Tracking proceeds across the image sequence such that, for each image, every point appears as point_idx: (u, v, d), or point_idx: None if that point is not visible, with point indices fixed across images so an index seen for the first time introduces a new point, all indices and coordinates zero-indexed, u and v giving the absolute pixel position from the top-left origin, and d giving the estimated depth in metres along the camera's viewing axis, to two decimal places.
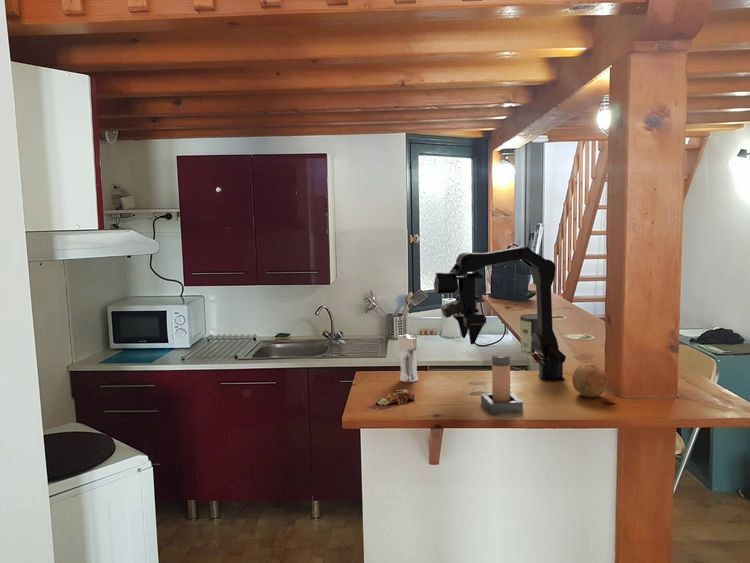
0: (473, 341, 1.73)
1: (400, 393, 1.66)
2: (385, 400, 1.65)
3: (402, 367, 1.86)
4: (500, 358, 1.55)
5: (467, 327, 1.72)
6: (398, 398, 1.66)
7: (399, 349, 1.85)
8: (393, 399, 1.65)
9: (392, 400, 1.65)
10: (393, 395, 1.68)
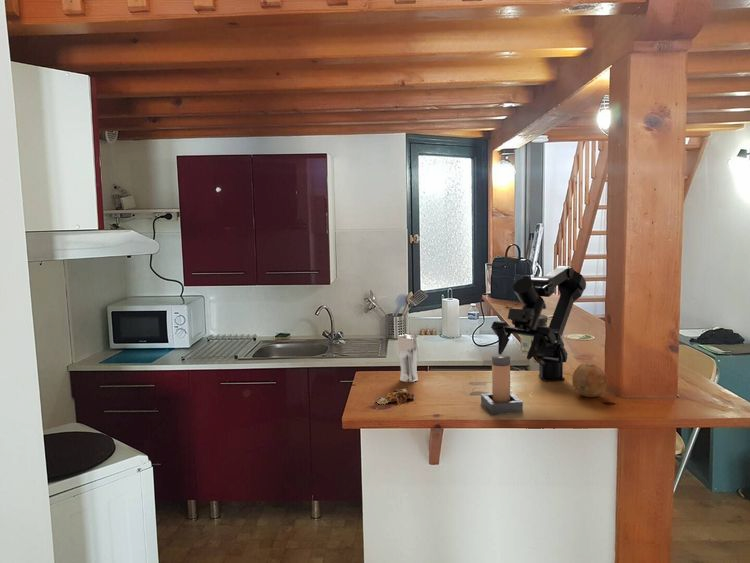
0: (530, 356, 1.60)
1: (399, 393, 1.67)
2: (384, 399, 1.66)
3: (402, 367, 1.86)
4: (500, 358, 1.55)
5: (534, 339, 1.61)
6: (397, 398, 1.66)
7: (399, 349, 1.85)
8: (392, 398, 1.66)
9: (391, 399, 1.66)
10: (392, 394, 1.69)
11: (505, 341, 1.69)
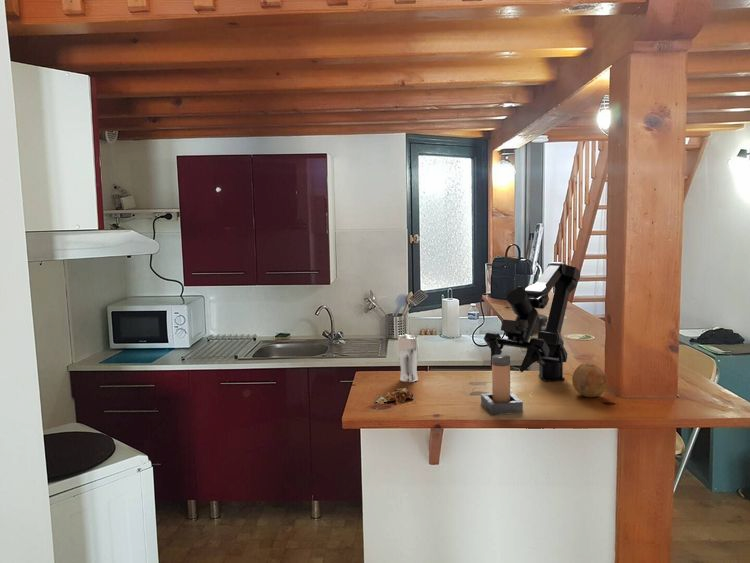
0: (524, 368, 1.57)
1: (398, 392, 1.67)
2: (383, 398, 1.67)
3: (402, 367, 1.86)
4: (500, 358, 1.55)
5: (528, 351, 1.57)
6: (396, 397, 1.67)
7: (399, 349, 1.85)
8: (391, 398, 1.67)
9: (390, 399, 1.66)
10: (392, 394, 1.70)
11: (498, 353, 1.65)
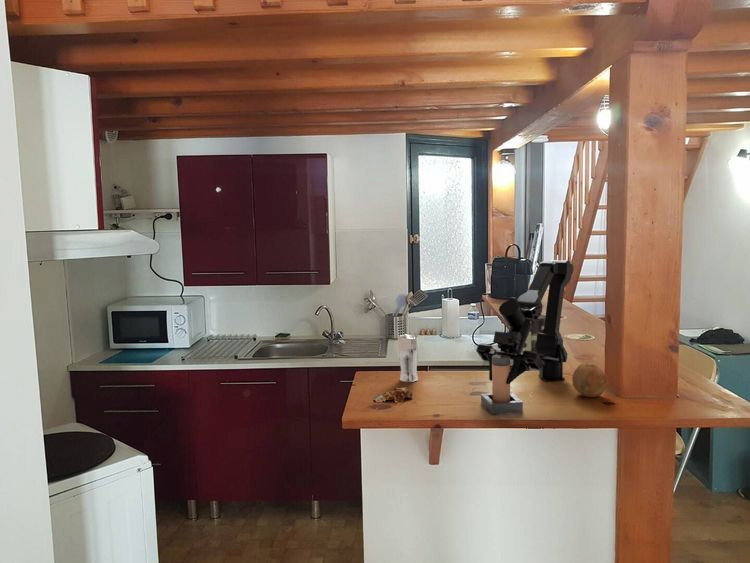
0: (510, 380, 1.55)
1: (397, 391, 1.68)
2: (382, 397, 1.68)
3: (402, 367, 1.86)
4: (500, 358, 1.55)
5: (514, 363, 1.56)
6: (395, 396, 1.68)
7: (399, 349, 1.85)
8: (390, 397, 1.68)
9: (389, 397, 1.67)
10: (391, 393, 1.71)
11: None
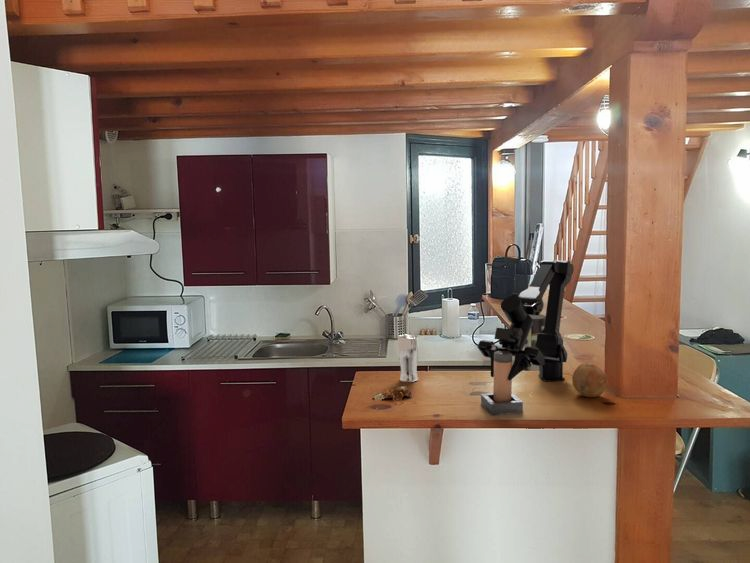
0: (512, 377, 1.55)
1: (396, 389, 1.70)
2: (381, 395, 1.70)
3: (402, 367, 1.86)
4: (502, 355, 1.54)
5: (516, 359, 1.55)
6: (393, 394, 1.69)
7: (399, 349, 1.85)
8: (388, 395, 1.69)
9: (387, 396, 1.69)
10: (391, 391, 1.72)
11: None
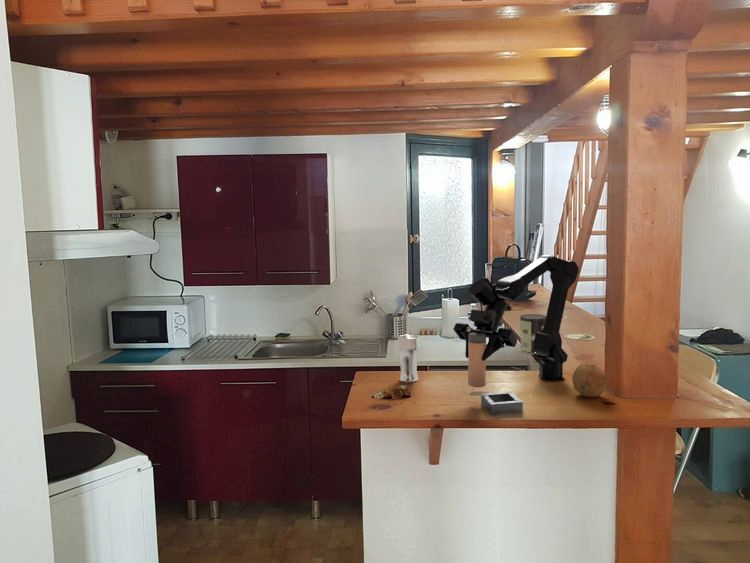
0: (485, 357, 1.59)
1: (395, 388, 1.71)
2: (380, 394, 1.71)
3: (402, 367, 1.86)
4: (476, 336, 1.59)
5: (490, 340, 1.60)
6: (393, 393, 1.70)
7: (399, 349, 1.85)
8: (388, 393, 1.70)
9: (386, 394, 1.70)
10: (391, 390, 1.73)
11: None
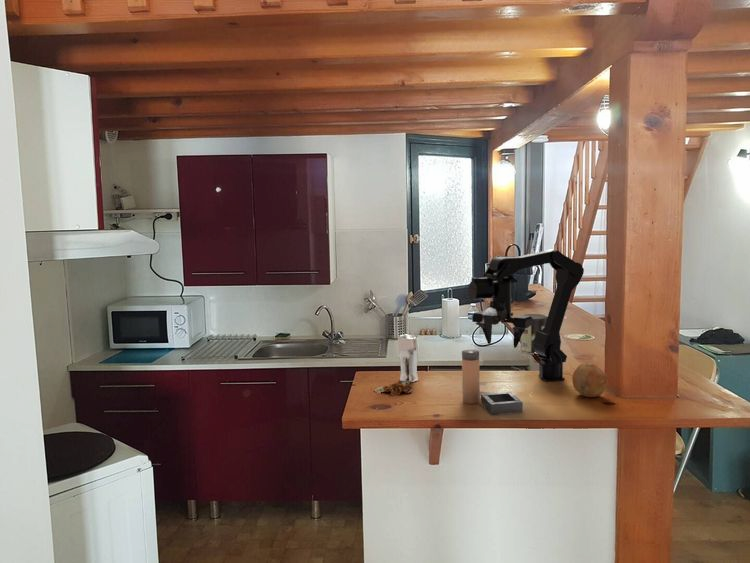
0: (517, 344, 1.74)
1: (395, 384, 1.75)
2: (381, 388, 1.77)
3: (402, 368, 1.86)
4: (469, 353, 1.62)
5: (515, 331, 1.71)
6: (392, 389, 1.75)
7: (399, 349, 1.85)
8: (387, 389, 1.75)
9: (386, 389, 1.75)
10: (393, 385, 1.78)
11: (489, 327, 1.80)
